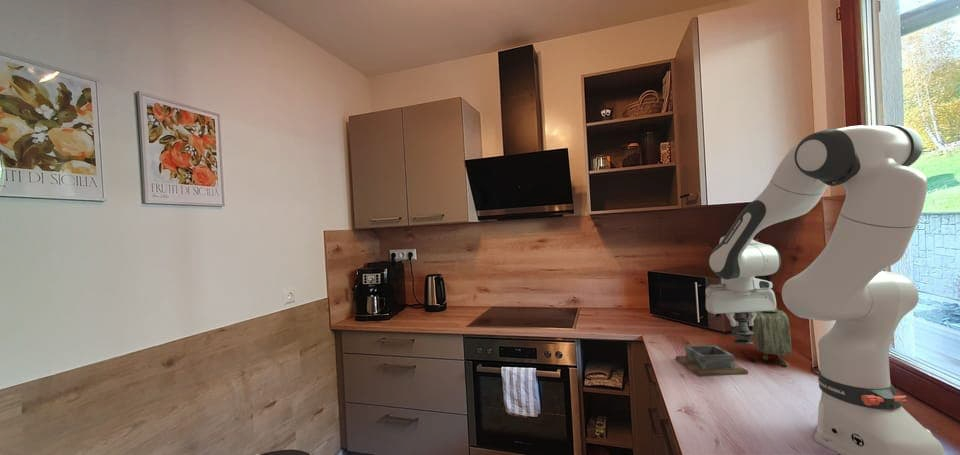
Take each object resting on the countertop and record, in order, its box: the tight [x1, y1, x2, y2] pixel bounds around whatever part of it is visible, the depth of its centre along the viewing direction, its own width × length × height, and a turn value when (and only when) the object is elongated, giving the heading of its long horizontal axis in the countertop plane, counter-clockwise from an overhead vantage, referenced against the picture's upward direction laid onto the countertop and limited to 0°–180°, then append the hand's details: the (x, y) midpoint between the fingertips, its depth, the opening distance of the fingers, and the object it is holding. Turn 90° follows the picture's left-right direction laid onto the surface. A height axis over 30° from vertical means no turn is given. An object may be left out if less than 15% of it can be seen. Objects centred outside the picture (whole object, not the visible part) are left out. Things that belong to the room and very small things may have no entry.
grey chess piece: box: [731, 312, 755, 346], centre depth 113 cm, size 6×6×12 cm
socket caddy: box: [675, 344, 749, 377], centre depth 127 cm, size 16×16×6 cm
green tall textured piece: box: [751, 306, 793, 367], centre depth 128 cm, size 14×9×25 cm, turn 148°
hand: (742, 325), depth 113 cm, fingers closed on grey chess piece, 3 cm apart
